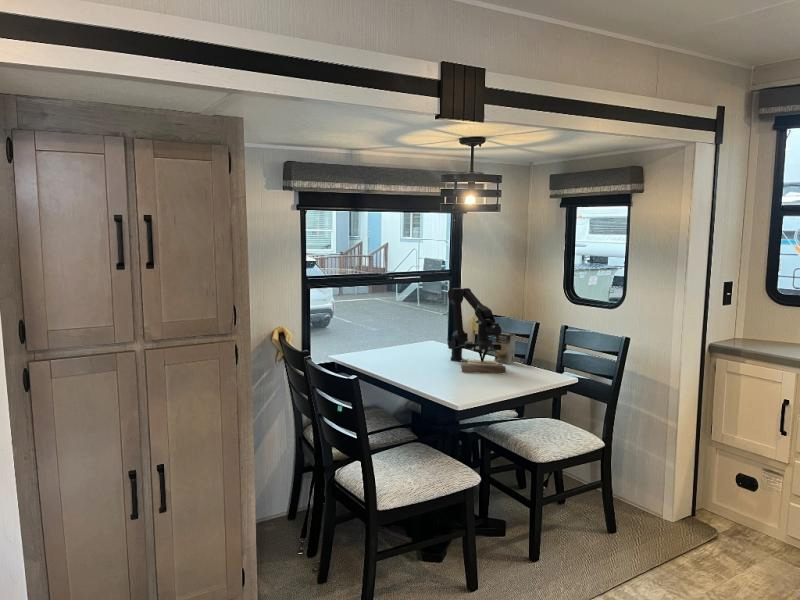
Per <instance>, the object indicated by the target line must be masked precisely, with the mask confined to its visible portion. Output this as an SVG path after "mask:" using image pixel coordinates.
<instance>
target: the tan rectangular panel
mask: <svg viewBox="0 0 800 600" xmlns="http://www.w3.org/2000/svg"><path fill="white" fill-rule="evenodd" d="M467 362H468V364H469V365H493V366H498V365H497V363H498V362H496V361H495V360H485V359H484V360H483V362H481V359H479V360H478V359H467Z"/></svg>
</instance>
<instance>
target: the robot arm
mask: <svg viewBox="0 0 800 600" xmlns="http://www.w3.org/2000/svg"><path fill="white" fill-rule="evenodd" d="M447 297H448V301H449V303H450V304H451V309H452V320H453V332H452V335H451V340H450V342H449V343H448V344H447V347H448V349H450V350H451V356H450V360H451V361H460V360H462V361H464V359H463V349H466V350H472V349H473V348H474V349H475V351H476V352H478V354H479V355H478V356H479V358H480V360H481V362H483V360H484V361H485V357H486V355H487V353H488V352H490V351H491V349H494V351H495V350H501V344H500V343H497V342H496V341H495V342H493V340H491V339H489V337H490V336H492V337H495V338H496V337H497V336H499V335H500V334H501V332H502V328H501V326H500V324H499V323H498V322H496V319H495V317H494V314H493V311H492V310H491V308H489V307H488V306H487V305H484V304H483V303H481V301H480V300H479V299H478V298H477V296H476V295H475V294H474V293H473V292H472V290H471V288H469V287H465V288H464V287H463V288H460V287H453V288H449V290H448V291H447ZM463 300H466V301H467V303H468V304H469V305H470V306H471V308H472V309H473V310H474V315H475V317H476V318H477V320H476V321H475V323H476V324H477V343H473V341H469V338H468V332H465V331H464V323H463V313H462V312H463V309H462V303H463Z"/></svg>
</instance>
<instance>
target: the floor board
mask: <svg viewBox="0 0 800 600" xmlns="http://www.w3.org/2000/svg"><path fill="white" fill-rule="evenodd" d="M497 365H498V366H493V365H469V364H468V361H460V368H461V369H460V370H462V371H461V373H475V372H480V374H498V373H505V374H506V366H505V365H504V363H499V362H497Z"/></svg>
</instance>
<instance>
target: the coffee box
mask: <svg viewBox="0 0 800 600" xmlns="http://www.w3.org/2000/svg"><path fill="white" fill-rule="evenodd" d="M516 337H517V336H516V334H515V333H511V332H506V331H505V332H504V331H501V334H500V335H499V336H497V337H496V336H495V342H497V343H500V344H501V350H495V349H494V361H496V362H497V363H500V364H503V365H504V364H505V365H510V364H514V361H515V347H516Z"/></svg>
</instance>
